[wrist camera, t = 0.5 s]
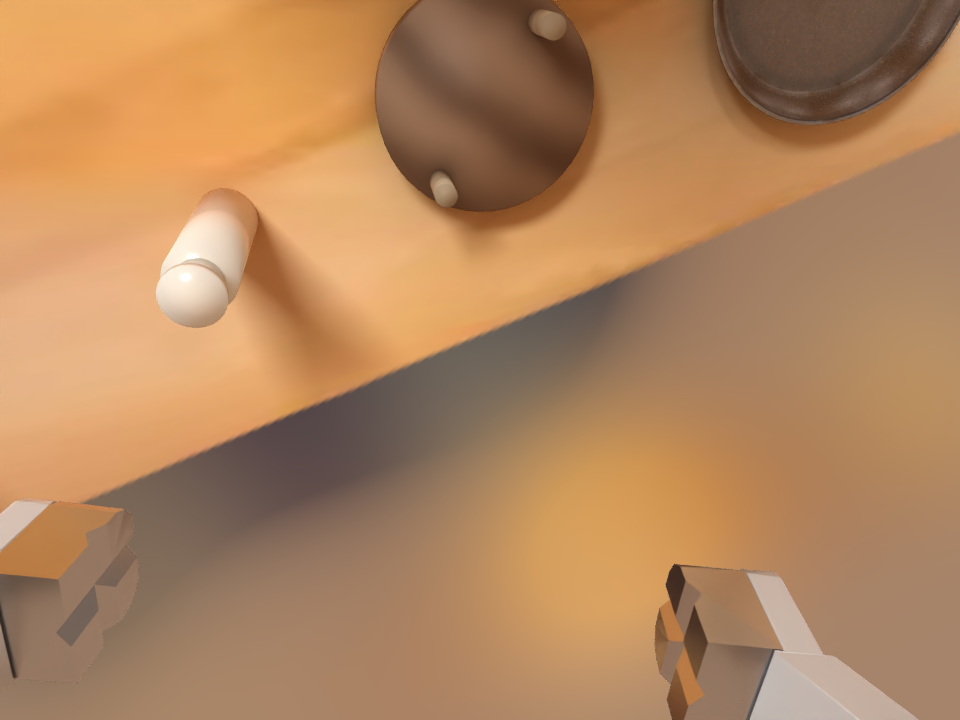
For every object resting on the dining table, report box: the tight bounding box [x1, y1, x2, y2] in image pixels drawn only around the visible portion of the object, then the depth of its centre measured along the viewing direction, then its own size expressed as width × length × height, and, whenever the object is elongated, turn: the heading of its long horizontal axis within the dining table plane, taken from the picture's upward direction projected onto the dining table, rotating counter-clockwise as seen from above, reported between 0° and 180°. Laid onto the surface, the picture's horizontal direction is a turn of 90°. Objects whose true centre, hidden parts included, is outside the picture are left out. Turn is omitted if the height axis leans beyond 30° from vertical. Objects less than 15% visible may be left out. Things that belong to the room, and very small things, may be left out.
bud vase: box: [156, 189, 258, 328], centre depth 47 cm, size 5×5×15 cm
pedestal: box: [375, 0, 594, 212], centre depth 49 cm, size 16×16×6 cm
